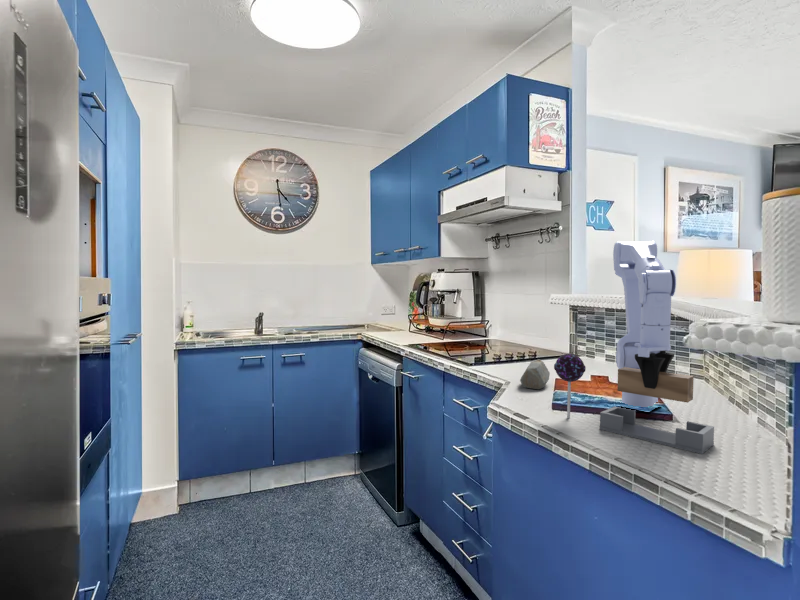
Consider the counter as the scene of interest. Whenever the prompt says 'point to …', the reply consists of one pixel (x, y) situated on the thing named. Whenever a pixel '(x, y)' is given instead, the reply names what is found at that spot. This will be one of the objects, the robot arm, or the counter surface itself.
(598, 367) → the counter surface
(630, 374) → the slat
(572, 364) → the lollipop
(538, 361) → the stone
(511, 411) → the counter surface
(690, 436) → the cradle
